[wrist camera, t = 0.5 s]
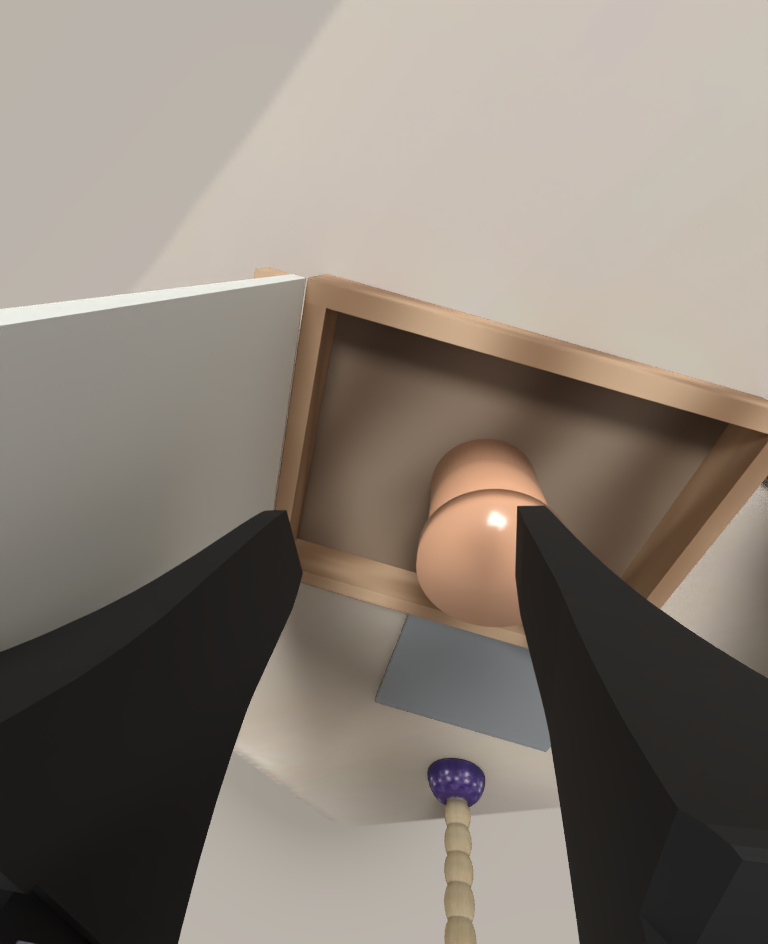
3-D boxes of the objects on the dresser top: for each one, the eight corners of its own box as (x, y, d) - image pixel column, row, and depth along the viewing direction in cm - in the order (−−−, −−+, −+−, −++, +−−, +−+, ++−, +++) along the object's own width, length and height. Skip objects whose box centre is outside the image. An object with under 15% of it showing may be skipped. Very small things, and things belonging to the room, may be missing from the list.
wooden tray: (762, 397, 17) (811, 421, 14) (593, 630, 24) (609, 671, 21) (327, 273, 17) (307, 278, 15) (283, 541, 24) (265, 572, 21)
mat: (619, 652, 24) (621, 658, 24) (544, 745, 29) (546, 751, 28) (416, 593, 24) (415, 598, 24) (375, 696, 29) (374, 701, 29)
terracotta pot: (563, 451, 19) (608, 532, 13) (515, 545, 21) (537, 643, 16) (445, 418, 19) (442, 484, 13) (411, 515, 21) (399, 603, 16)
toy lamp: (436, 748, 31) (422, 1201, 16) (499, 763, 30) (544, 1236, 16) (422, 781, 33) (400, 1204, 18) (481, 796, 33) (506, 1236, 18)
